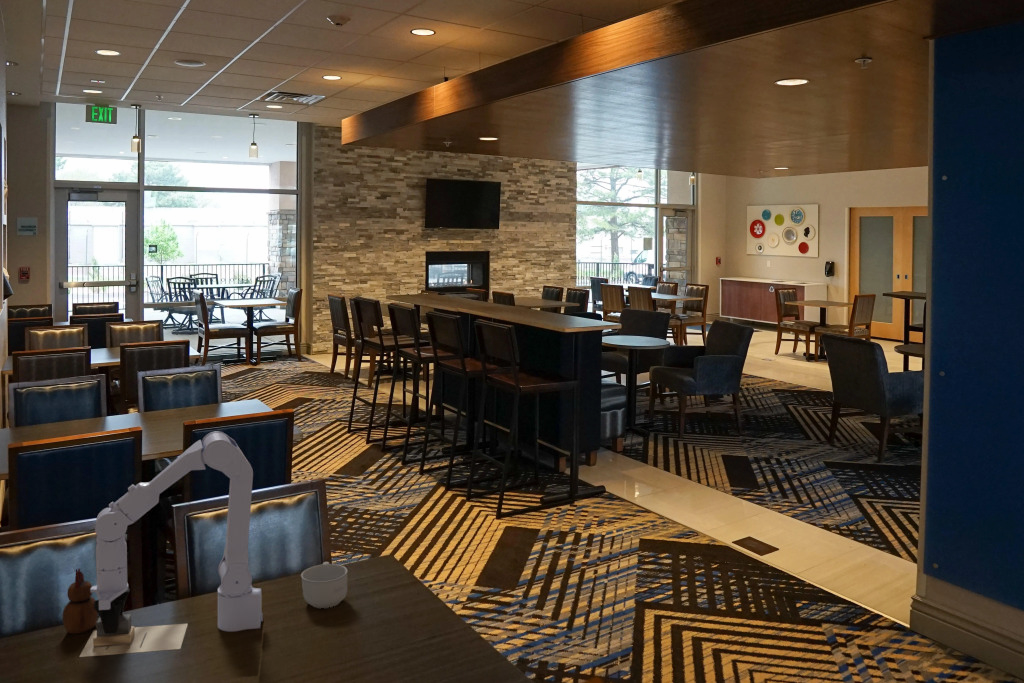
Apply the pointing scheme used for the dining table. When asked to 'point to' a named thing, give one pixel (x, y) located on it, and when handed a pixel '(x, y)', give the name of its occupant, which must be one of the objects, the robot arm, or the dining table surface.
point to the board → (142, 641)
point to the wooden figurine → (79, 606)
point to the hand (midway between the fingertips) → (112, 628)
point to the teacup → (324, 585)
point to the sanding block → (115, 639)
